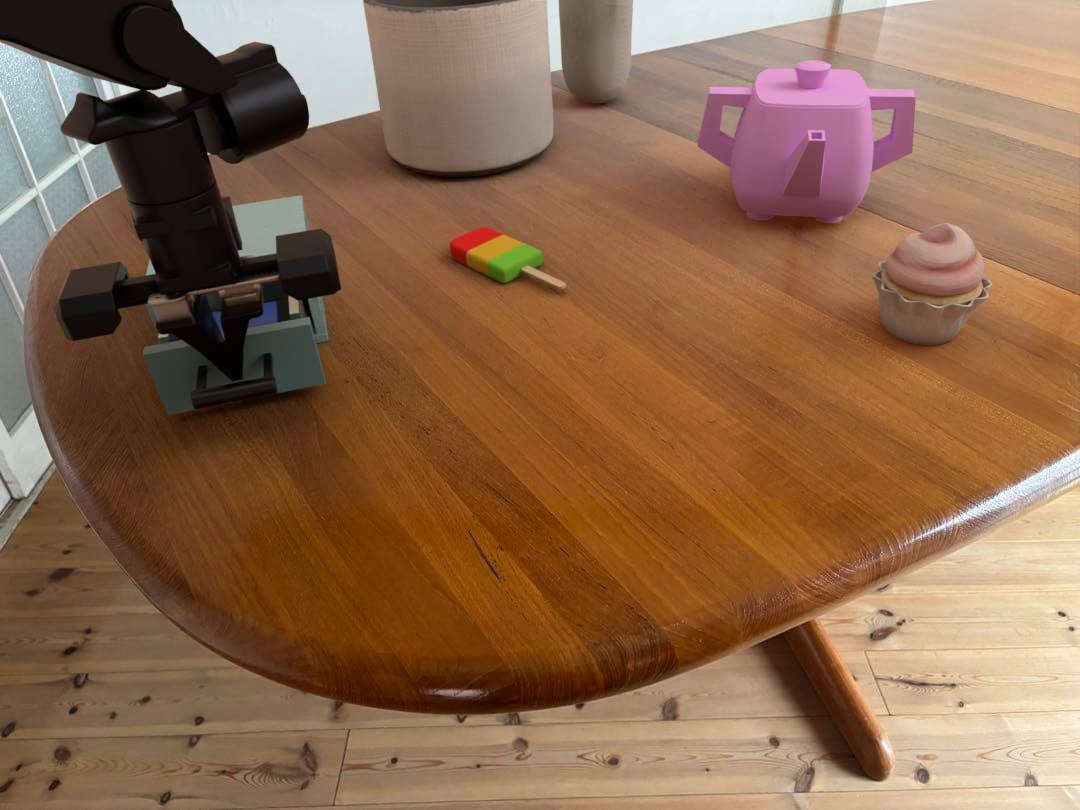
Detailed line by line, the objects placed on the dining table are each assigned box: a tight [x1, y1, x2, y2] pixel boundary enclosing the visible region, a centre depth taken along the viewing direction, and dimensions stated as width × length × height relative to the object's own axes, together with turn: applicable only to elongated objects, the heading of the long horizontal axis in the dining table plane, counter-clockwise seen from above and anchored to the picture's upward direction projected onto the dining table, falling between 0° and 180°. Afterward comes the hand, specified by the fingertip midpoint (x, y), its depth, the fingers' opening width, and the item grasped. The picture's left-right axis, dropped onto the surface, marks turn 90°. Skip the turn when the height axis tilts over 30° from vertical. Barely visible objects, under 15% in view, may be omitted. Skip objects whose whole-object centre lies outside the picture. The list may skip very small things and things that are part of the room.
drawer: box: [142, 280, 327, 416], centre depth 69 cm, size 20×13×6 cm, turn 16°
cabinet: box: [145, 195, 330, 344], centre depth 78 cm, size 16×14×8 cm
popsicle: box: [449, 226, 567, 290], centre depth 83 cm, size 6×15×2 cm, turn 44°
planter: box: [362, 0, 555, 178], centre depth 105 cm, size 23×23×20 cm
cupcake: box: [871, 222, 993, 346], centre depth 69 cm, size 9×9×10 cm
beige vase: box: [558, 0, 634, 104], centre depth 116 cm, size 10×10×28 cm
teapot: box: [697, 59, 917, 224], centre depth 88 cm, size 19×18×15 cm
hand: (237, 377), depth 64 cm, fingers closed, pressing on drawer
